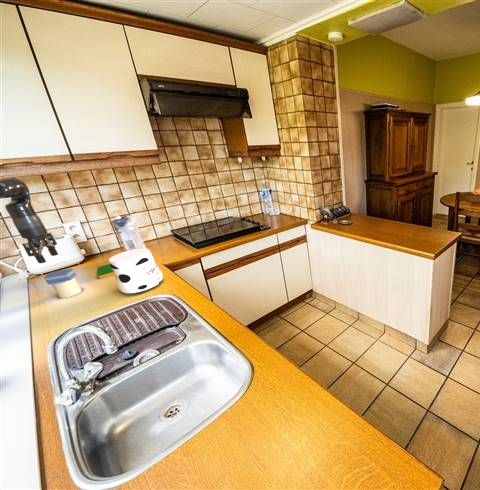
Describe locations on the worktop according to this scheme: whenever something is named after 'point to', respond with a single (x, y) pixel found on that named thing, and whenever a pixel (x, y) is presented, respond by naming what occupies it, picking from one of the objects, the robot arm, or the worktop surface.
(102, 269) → the dish sponge
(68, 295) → the yogurt pot
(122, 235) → the juice carton
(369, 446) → the worktop surface
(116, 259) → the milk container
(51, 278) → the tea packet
